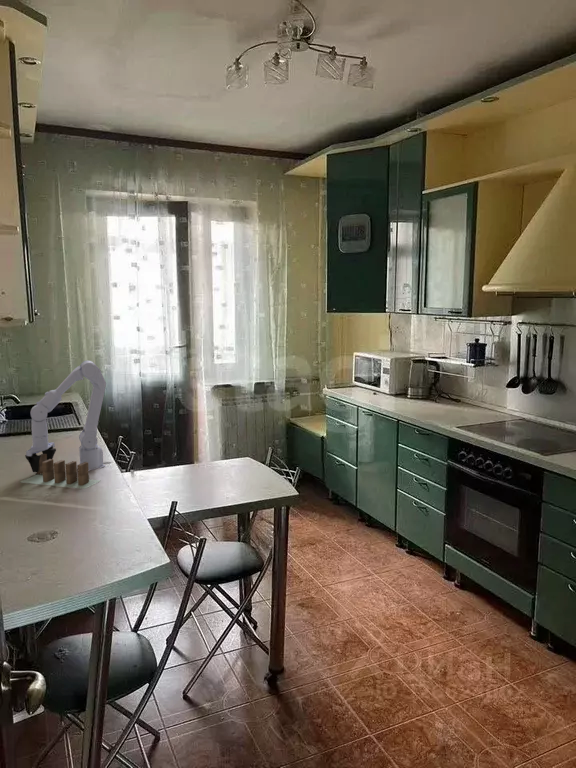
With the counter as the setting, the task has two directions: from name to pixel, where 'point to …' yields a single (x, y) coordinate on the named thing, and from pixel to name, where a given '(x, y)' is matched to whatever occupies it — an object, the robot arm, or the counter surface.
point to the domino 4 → (71, 472)
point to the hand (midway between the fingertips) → (41, 469)
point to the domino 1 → (42, 459)
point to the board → (39, 480)
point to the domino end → (83, 473)
